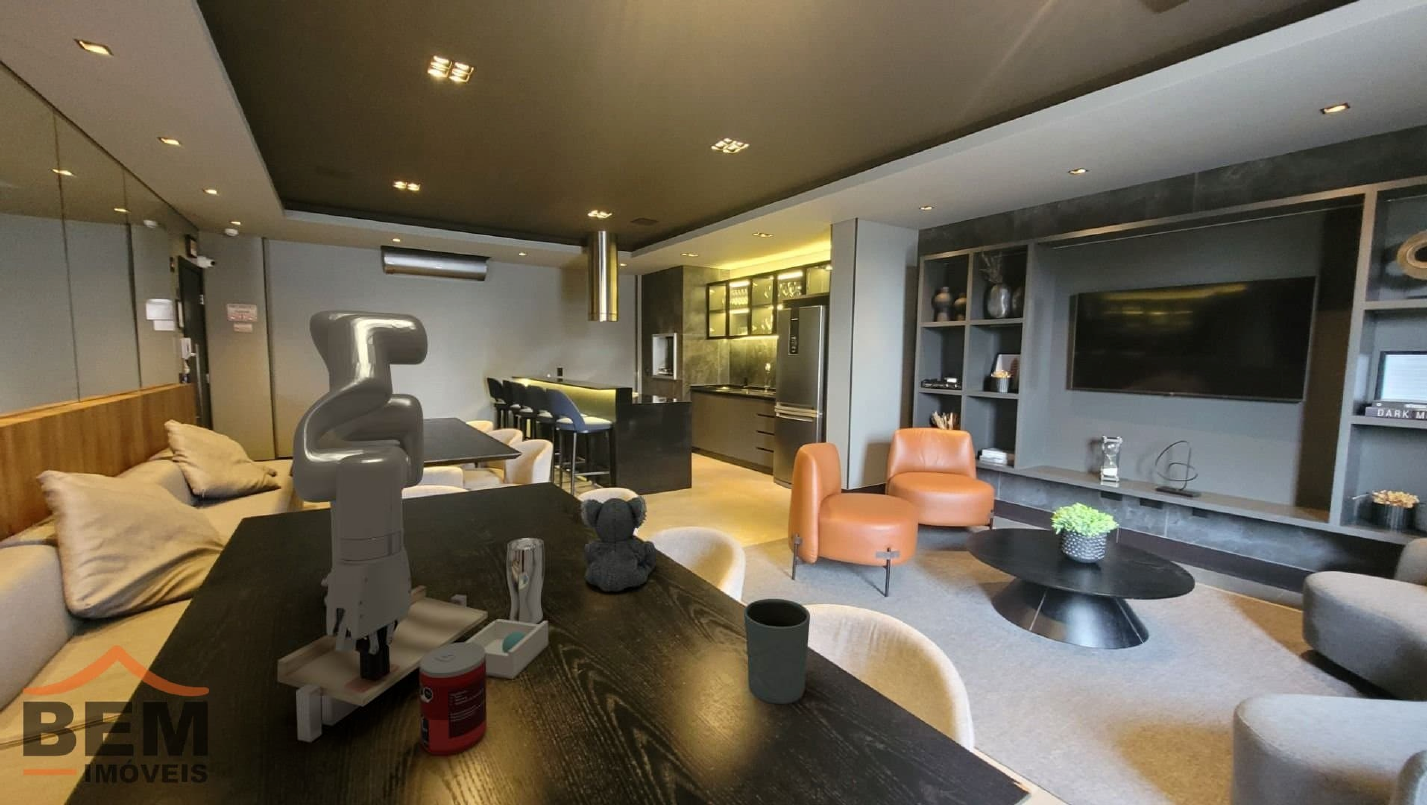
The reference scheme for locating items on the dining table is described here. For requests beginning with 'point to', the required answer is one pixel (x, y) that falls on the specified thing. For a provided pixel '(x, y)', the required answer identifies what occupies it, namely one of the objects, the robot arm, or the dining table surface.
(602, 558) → the koala plush
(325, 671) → the lever
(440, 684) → the canned food
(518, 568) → the beer glass
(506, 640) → the ball
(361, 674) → the robot arm
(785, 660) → the dark green cup
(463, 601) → the lever stand
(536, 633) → the white open box
